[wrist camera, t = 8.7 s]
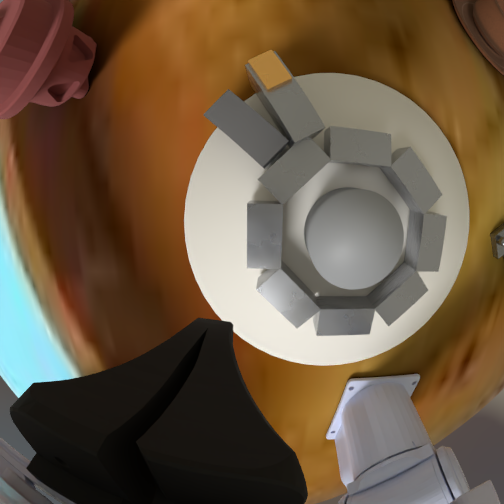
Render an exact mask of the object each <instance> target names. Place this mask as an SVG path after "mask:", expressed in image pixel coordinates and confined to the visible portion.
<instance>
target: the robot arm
mask: <svg viewBox="0 0 504 504" xmlns="http://www.w3.org/2000/svg"><path fill="white" fill-rule="evenodd" d="M419 379H420V375H419V374H409V375H399V376H387V377H372V378H353V379H350V380H349V381H348V382H347V384H346V387H345V390H344V392H343V395H342V398H341V400H340V403H339V405H338V408H337V410H336V413H335V415H334V418H333V420H332V422H331V425H330V427H329V429H328V432H327V434H326V438H327V439H335V444H336V450H337V456H338V463H339V469H340V476H341V480H342V482H343V483H344V485H345V486H346V487H347V491H348V494H346V495H344V496H343V497H341V499H340V500H339V503H338V504H500V501H499V499H498V496H497V494H496V491H495V489H494V487H493V484H492V482H491V480H488V481H486V482H485V483H483V484H481V485H479V486H477V487H475V488H473V489H472V490H470V489H469V487H468V484H467V481H466V479H465V476H464V474H463V472H462V469H461V467H460V465H459V463H458V461H457V459H456V457H455V455H454V453H453V451H452V449H451V448H450V447H444V446H441V447H440V448H438V449H437V451H436V449H435V448H434V447H433V445H432V443H431V441H430V438H429V436H428V434H427V432H426V430H425V427H424V425H423V423H422V421H421V419H420V417H419V415H418V413H417V411H416V408H415V406H414V404H413V402H412V400H411V398H410V397H411V395H412V393H413V391H414V389H415V387H416V385H417V383H418V381H419ZM350 387H351V388H350ZM10 414H11V417H12V420H13V422H14V423H15V425H16V426H17V428H18V429H19V431H20V432H21V434H22V435H23V436H24V438H25V439H26V440H27V441H28V443H29V444H30V445H31V446H32V448H33V449H34V450H35V451H36V455H35V456H34V458H33V459H32V461H29V460H28V459H27V458H25V457H24V456H22V455H21V454H20V453H19V452H17V451H16V450H15V449H14V448H12V447H11V446H10V445H9V444H8V443H6V442H5V441H4V440H3V439H2V438H0V504H53V503H52V502H51V501H50V500H49V499H48V498H46V497H45V496H43V495H42V494H41V493H39V492H38V491H37V490H36V488H35V486H37V487H38V488H39V489H41V490H42V491H44V492H45V493H47V494H48V495H50V496H51V497H53V498H54V499H56V500H57V501H59V502H61V503H62V504H304V503H305V502H306V499H307V496H308V493H307V486H306V481H305V478H304V474H303V472H302V469H301V466H300V464H299V461H298V459H297V456H296V454H295V452H294V451H293V450H292V449H291V448H290V447H289V446H288V445H287V444H286V443H285V442H284V441H283V440H282V438H281V437H280V436H279V435H278V434H277V433H276V432H275V430H274V429H273V428H272V427H271V425H270V424H269V423H268V421H267V420H266V419H265V417H264V416H263V414H262V413H261V411H260V410H259V408H258V407H257V405H256V403H255V402H254V400H253V398H252V397H251V395H250V393H249V391H248V389H247V387H246V385H245V383H244V380H243V378H242V375H241V373H240V370H239V367H238V364H237V361H236V357H235V353H234V349H233V324H232V323H231V322H228V321H219V320H211V319H203V318H197V319H196V320H195V321H193V322H192V323H191V324H189V325H188V326H186V327H185V328H184V329H182V330H181V331H180V332H178V333H177V334H175V335H174V336H173V337H171V338H170V339H168V340H167V341H165V342H164V343H162V344H160V345H159V346H157V347H155V348H154V349H152V350H150V351H149V352H147V353H145V354H143V355H141V356H139V357H137V358H135V359H133V360H131V361H129V362H126V363H124V364H122V365H119V366H117V367H114V368H111V369H108V370H105V371H102V372H99V373H96V374H92V375H88V376H84V377H79V378H74V379H69V380H62V381H52V382H40V383H33V384H32V385H31V386H30V387H29V388H28V389H27V390H26V391H25V392H24V393H23V394H22V395H21V397H20V398H19V399H18V400H17V401H16V402H15V403H14V404H13V405H12V406H11V407H10ZM34 485H35V486H34Z"/></svg>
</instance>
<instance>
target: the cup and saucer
mask: <svg viewBox="0 0 504 504" xmlns="http://www.w3.org/2000/svg"><path fill="white" fill-rule="evenodd" d="M452 1H453V5H454V8H455V11H456V13H457V16H458V18H459V20H460V22H461V24H462V25H463V27H464V29H465V31H466V32H467V34H468V35H469V37H470V38H471V40H472V41H473V43H474V44H475V45H476V47H477V48H478V49H479V50H480V52H481V53H482V54H483V55H484V57H485V58H486V59H487V60H488V61H489V62H490V63H491V64H492V65H493V66H494V67H495V68H496V69H497V70H498V71H499V72H500V73H502V74H503V75H504V0H452Z"/></svg>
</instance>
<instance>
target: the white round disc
mask: <svg viewBox="0 0 504 504" xmlns="http://www.w3.org/2000/svg"><path fill="white" fill-rule="evenodd" d="M294 78H295V79H296V81H297V82H298V84H299V85H300V87H301V88H302V90H303V91H304V93H305V95H306V96H307V98H308V99H309V101H310V102H311V104H312V105H313V107H314V109H315V110H316V112H317V114H318V115H319V117H320V119H321V120H322V122H323V124H324V125H325V127H326V128H324V129H323V130H322V131H321V132H320V133H319V134H318V135H317V136H316V137H315V138H313V139H312V140H313V141H314V142H315V143H316V144H317V145H318V146H319V147H320V148H321V149H322V150H323V151H324V131H325V130H326V129H327V128H329V127H330V126H336V127H345V128H354V129H362V130H369V131H375V132H382V133H388V134H391V154H392V153H393V152H394V151H395V150H396V149H399V148H405V147H411V148H412V149H413V151H414V152H415V153H416V155H417V156H418V158H419V159H420V161H421V162H422V163H423V165H424V166H425V168H426V169H427V171H428V172H429V174H430V175H431V177H432V178H433V180H434V182H435V183H436V185H437V186H438V188H439V190H440V191H441V193H442V196H441V197H440V198H439V199H438V200H437V201H436V202H435V204H434V205H433V206H432V207H431V208H430V209H429V210H428V211H430V212H435V213H438V214H441V215H445V216H447V220H446V229H445V237H444V243H443V250H442V256H441V261H440V267H439V272H418V274H419V275H420V277H421V279H422V280H423V282H424V284H425V285H426V287H427V288H428V291H427V292H426V293H425V294H424V295H423V296H422V297H421V298H420V299H419V300H418V301H417V302H416V303H415V304H414V305H412V306H411V307H410V308H409V309H408V310H407V311H406V312H405V313H404V314H403V315H401V316H400V317H399V318H398V319H397V320H396V321H395V322H393V323H392V324H391V325H390V326H388V325H387V324H386V323H385V321H384V320H383V319H382V318H381V316H380V315H379V314H378V313H377V312H376V310H375V313H374V318H373V322H372V326H371V331H370V334H367V335H340V336H316V332H315V327H314V323H313V317H314V316H313V317H311V318H310V319H309V320H307V321H306V322H305V323H304V324H302V325H301V326H300V327H298V328H296V327H295V326H294V325H293V324H292V323H290V322H289V321H288V320H287V319H286V318H285V317H284V316H283V315H282V314H281V313H280V312H279V311H278V310H277V309H276V308H275V307H274V306H273V305H272V304H270V303H269V302H268V301H267V300H266V299H265V298H264V297H263V296H262V295H261V294H260V293H259V292H258V291H257V290H256V287H257V280H258V277H259V276H261V275H262V274H263V273H264V272H265V271H266V270H267V269H256V268H247V203H248V202H249V201H250V200H256V201H278V200H277V199H276V198H275V197H274V196H273V195H272V194H271V193H270V192H269V191H268V190H267V189H266V188H265V187H264V186H263V185H262V184H261V183H260V182H259V181H258V180H257V179H258V178H259V177H260V176H261V175H262V174H264V173H265V172H266V171H267V170H268V169H269V168H270V167H271V166H272V165H273V164H274V163H275V162H276V161H277V160H278V159H279V158H281V157H282V156H283V155H284V154H285V153H286V152H287V151H288V150H289V149H290V148H289V147H288V145H287V144H288V140H287V139H286V138H285V137H284V136H283V135H282V134H281V133H280V131H279V130H278V128H277V126H276V125H275V123H274V122H273V120H272V118H271V117H270V115H269V113H268V112H267V110H266V109H265V107H264V106H263V104H262V102H261V101H260V99H259V98H258V96H257V95H256V93H255V94H254V95H252V96H251V97H250V98H248V99H247V100H245V101H242V100H241V99H240V98H239V97H238V96H236V95H235V94H234V93H233V92H231V91H230V90H229V89H228V90H227V91H226V92H225V93H224V94H223V95H222V96H221V97H220V98H219V99H218V100H217V101H216V102H215V103H214V104H213V105H212V106H211V107H210V108H209V109H208V110H207V112H206V113H205V114H204V116H205V117H206V118H207V119H209V120H210V121H211V122H212V123H213V124H215V125H216V126H217V129H216V130H215V131H214V132H213V134H212V135H211V136H210V138H209V139H208V141H207V143H206V145H205V146H204V148H203V150H202V152H201V154H200V155H199V157H198V160H197V162H196V165H195V168H194V170H193V173H192V176H191V179H190V183H189V187H188V192H187V196H186V204H185V216H184V226H185V241H186V246H187V252H188V257H189V261H190V264H191V267H192V270H193V273H194V276H195V279H196V281H197V283H198V285H199V287H200V289H201V291H202V293H203V295H204V297H205V298H206V300H207V301H208V303H209V304H210V306H211V307H212V309H213V310H214V311H215V313H216V314H217V315H218V316H219V317H220V318H221V319H222V321H228V322H231V323H232V324H233V331H234V332H235V333H236V334H237V335H238V336H240V337H241V338H242V339H244V340H245V341H247V342H248V343H250V344H251V345H253V346H254V347H256V348H258V349H260V350H262V351H264V352H266V353H268V354H270V355H273V356H276V357H279V358H282V359H285V360H288V361H292V362H297V363H302V364H309V365H340V364H346V363H352V362H357V361H361V360H364V359H368V358H371V357H373V356H376V355H378V354H381V353H383V352H385V351H387V350H389V349H391V348H393V347H395V346H396V345H398V344H400V343H402V342H403V341H404V340H406V339H407V338H409V337H410V336H411V335H413V334H414V333H415V332H416V331H417V330H419V329H420V328H421V327H422V326H423V325H424V324H425V323H426V322H427V321H428V320H429V319H430V318H431V317H432V316H433V314H434V313H435V312H436V311H437V310H438V308H439V307H440V306H441V304H442V303H443V301H444V300H445V298H446V297H447V295H448V294H449V292H450V290H451V288H452V286H453V284H454V282H455V280H456V278H457V276H458V273H459V270H460V268H461V265H462V262H463V258H464V255H465V251H466V247H467V240H468V233H469V203H468V194H467V189H466V184H465V180H464V176H463V173H462V170H461V167H460V164H459V162H458V159H457V157H456V155H455V153H454V151H453V149H452V147H451V145H450V143H449V141H448V140H447V138H446V137H445V136H444V134H443V133H442V131H441V130H440V128H439V127H438V126H437V125H436V123H435V122H434V121H433V120H432V119H431V118H430V117H429V116H428V115H427V113H426V112H425V111H423V110H422V109H421V108H420V107H419V106H418V105H416V104H415V103H414V102H413V101H412V100H410V99H409V98H407V97H406V96H404V95H402V94H401V93H399V92H398V91H396V90H394V89H392V88H390V87H388V86H386V85H384V84H381V83H379V82H377V81H374V80H370V79H367V78H363V77H360V76H356V75H349V74H341V73H315V74H308V75H302V76H297V77H294ZM409 216H410V209H409V208H408V206H407V205H406V203H405V202H404V200H403V199H402V198H401V196H400V195H399V193H398V192H397V191H396V189H395V188H394V187H393V185H392V184H391V183H390V181H389V180H388V179H387V177H386V176H385V175H384V173H383V172H382V171H381V170H380V168H379V167H372V166H363V165H353V164H342V163H327V164H326V165H325V166H324V167H323V168H322V169H321V170H320V171H319V172H318V173H317V174H316V175H314V176H313V177H312V178H311V179H310V180H309V181H308V182H307V183H306V184H305V185H304V186H303V187H302V188H300V189H299V190H298V191H297V192H296V193H295V194H294V195H293V196H292V197H291V198H290V199H289V200H288V201H287V202H286V203H284V204H283V225H282V254H281V260H282V261H283V262H284V263H285V264H286V265H287V266H288V267H289V268H290V269H291V270H292V271H293V272H294V273H295V275H296V276H297V277H298V278H299V279H300V280H301V281H302V282H303V283H304V284H305V285H306V286H307V287H308V288H309V289H310V290H311V291H312V292H313V293H314V294H315V295H316V296H367V295H368V294H369V293H370V292H372V291H373V290H374V289H375V288H376V287H377V286H378V285H379V284H381V283H382V282H383V281H384V280H385V279H386V278H387V277H388V276H389V275H390V274H391V273H393V272H394V271H395V270H396V269H397V268H398V267H399V266H400V265H401V264H402V263H403V262H404V257H405V250H406V243H407V235H408V226H409Z"/></svg>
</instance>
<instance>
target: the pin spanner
mask: <svg viewBox="0 0 504 504" xmlns="http://www.w3.org/2000/svg"><path fill="white" fill-rule="evenodd" d="M490 236H491V243H492V250H493V257H495V258H497V259H499V258H500V257H502V256H503V257H504V223H503V224H502V225H501V226H499V227H498V228H497V229H496V230H494V231H493V232H492V233H491V234H490Z"/></svg>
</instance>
